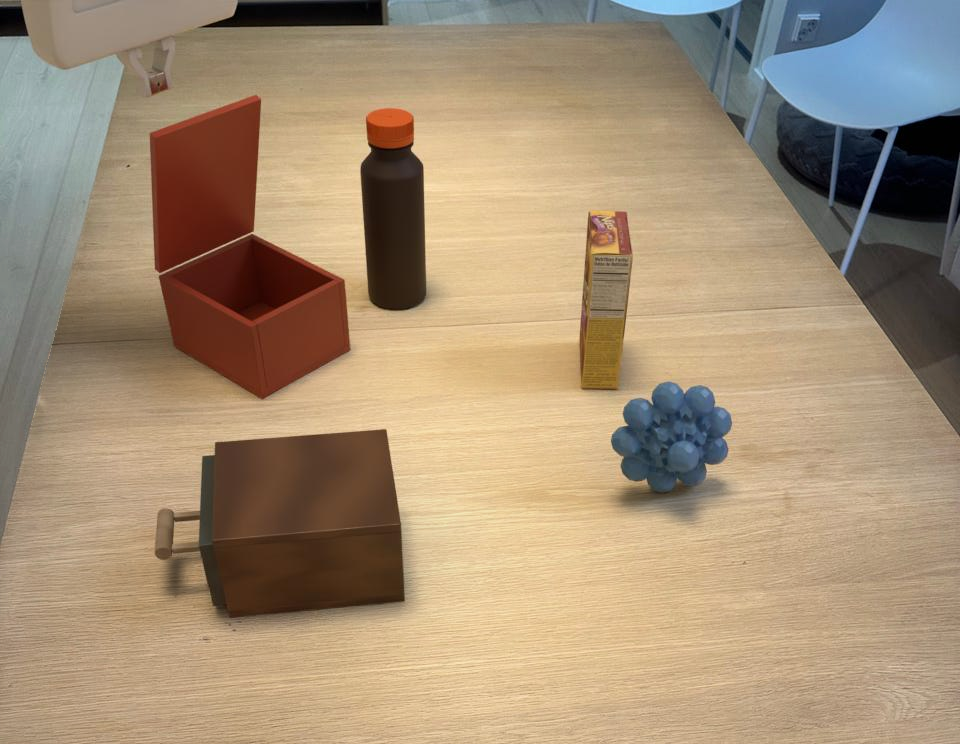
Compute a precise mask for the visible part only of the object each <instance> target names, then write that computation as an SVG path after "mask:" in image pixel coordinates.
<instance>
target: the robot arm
mask: <svg viewBox="0 0 960 744" xmlns="http://www.w3.org/2000/svg"><path fill="white" fill-rule="evenodd" d="M238 1H239V0H20V4H21V9H22V14H23V18H24V23H25V27H26V31H27V35H28V38H29V41H30V45H31V47H32V50H33V52H34V53H35V55H36V56H37V57H38V58H40V60H42V61H43V62H45V63H46V64H47V65H50V66H52V67H54V68H57V69H59V70H62V71H66V70H67V71H68V70H70V69H73V68H74V69H75V68H76V67H77V68H78V67H79V66H83V65H86V64H89V63H93V62H96V61H98V60H99V61H100V60H101V59H104V58H108V57H111V56H114V55H116V58H117V59H118V61H119V62H120V63H121V64H122V65H123V66H124V68H125V69H126V70H127V71H128V73H129V74H130V75H131V76H132V80H133V83H134V84H133V85H134V89H135V91H136V93H137V94H138V96H140V97H142V98H145V99H148V98H150V97H153V96H155V95H158V94H162V93H166V92H167V91H170V90H172V89H173V82H172V78H171V72H170V70H171V68H172V64H173V60H174V56H175V51H176V48H177V47H176V42H175V37H174V36H176V35H179V34H182V33H186V32H188V31H191V30H194V29H197V28H201V27H204V26H208V25H210V24H213V23H217V22H219V21H223V20H226V19H229V18H232V17H233V16H234V15H235V12H236V10H237V6H238ZM148 44H149V46H151V47H153V48H154V49H153V50H154V51H153V57H152V64H151V67H150V68H147V69H145V68H144V67H143V66H142V64H141V63H140V62H139V61H140V60H141V59H143V53H142V48H141V47H142V46H146V45H148ZM138 60H139V61H138Z"/></svg>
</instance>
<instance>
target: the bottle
mask: <svg viewBox="0 0 960 744" xmlns="http://www.w3.org/2000/svg"><path fill="white" fill-rule="evenodd" d="M365 125H366V126H365V127H366V140H367V145H368V147H369V148H370V153H368V155H367V156H366V157H365V158H364V159H363V161H362V162H361V163H360V170H359V174H360V188H361V203H362V218H363V219H362V220H363V231H364V234H363V236H364V247H365V249H364V250H365V263H366V277H367V279H366V280H367V294H368V297H369V299H370V301H371V302H372V303H374V304H376V305H377V306H378V307H380V308H381V307H382V308H384V309H390V310H405V309H411V308H413V307H416V306H417V305H419V304H420V303H421V302H423V301H424V300H425V298H426V296H427V262H426V260H427V259H426V258H427V256H426V218H425V217H426V216H425V215H426V214H425V209H426V208H425V176H424V175H425V172H424V163H423V162H422V161H421V159H420V158H419V157H418V156H417V155H416V154H415V153H414V152H413V151H412V148H413V146H414V144H415V143H414V140H415V118H414V115H413V114H412V113H411V112H409V111H407V110H405V109H401V108H395V107H385V108H380V109H375V110H373V111H370V112H369V113H368V114H367V115H366V116H365Z"/></svg>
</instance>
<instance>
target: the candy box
mask: <svg viewBox="0 0 960 744" xmlns="http://www.w3.org/2000/svg"><path fill="white" fill-rule="evenodd" d="M585 240H586V242H585V257H584V271H583V284H582V295H581V297H582V298H581V309H580V310H581V312H580V325H579V339H578V341H579V343H578V345H579V358H580V359H579V361H580V389H588V390H589V389H592V390H593V389H594V390H618V389H619V382H620V373H621V368H622V367H621V366H622V357H623V347H624V340H625V330H626V322H627V313H628V312H627V311H628V304H629V296H630V295H629V294H630V287H631V277H632V269H633V262H634V261H633V260H634V252H633V247H632V240H631V233H630V227H629V221H628V212H627V211H619V210H618V211H616V210H592V211H591V210H589V212H588V214H587V226H586V239H585Z"/></svg>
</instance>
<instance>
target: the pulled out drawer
mask: <svg viewBox="0 0 960 744" xmlns="http://www.w3.org/2000/svg"><path fill="white" fill-rule="evenodd" d="M214 460H215V454H211V455H202V456H201V476H200V478H201V480H200V499H199V500H200V502H199V510H191V511H180V512H178V511H177V512H174V511H173V510H172V509H170V508H167V507H165V508H161V509H159V510H158V511H157V515H156V517H157V519H156V530H155V541H154V556H155V558H157V559H158V560H160V561H167V560H169V559H171V558H172V557H173V555H176V554H178V555H179V554H188V553H200V558H201V562H202V566H203V569H204V574H205V578H206V583H207V586H208V590H209V594H210V598H211V604H212V607H222V606H223V607H224V606H227V604H226V599H225V595H224V591H223V586H222V582H221V577H220V573H219V569H218V564H217V560H216V555H215V551H214V546H213V542H212V532H213V496H214ZM192 521H194V522H195V521H199V525H198V526H199V528H198V541H196V542H195V541H194V542H183V543H174V535H175V523H179V522H181V523H182V522H192Z"/></svg>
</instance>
